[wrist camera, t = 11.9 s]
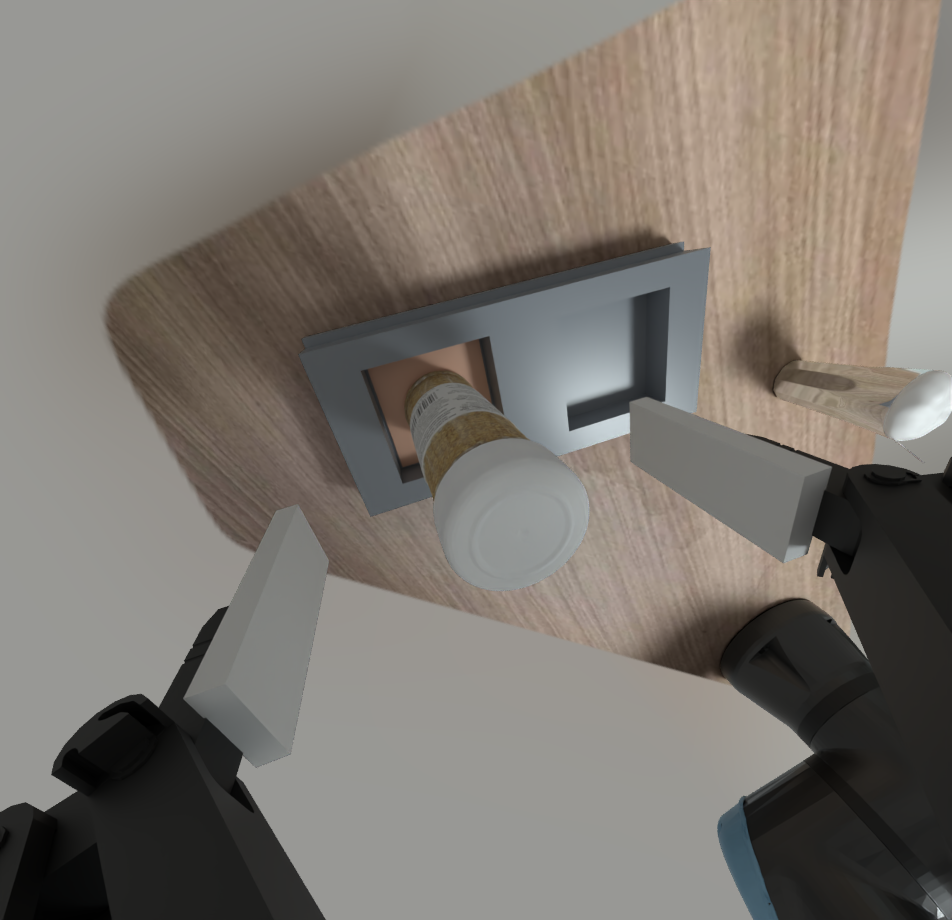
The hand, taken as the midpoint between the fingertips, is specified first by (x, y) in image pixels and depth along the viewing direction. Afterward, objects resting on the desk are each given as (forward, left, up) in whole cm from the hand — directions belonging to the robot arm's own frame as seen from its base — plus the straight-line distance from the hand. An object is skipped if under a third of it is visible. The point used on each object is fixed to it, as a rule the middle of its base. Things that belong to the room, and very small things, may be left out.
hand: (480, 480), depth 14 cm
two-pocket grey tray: (0, -5, -11) cm, 12 cm away
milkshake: (-7, -28, -11) cm, 31 cm away
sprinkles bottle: (0, 0, -10) cm, 10 cm away
